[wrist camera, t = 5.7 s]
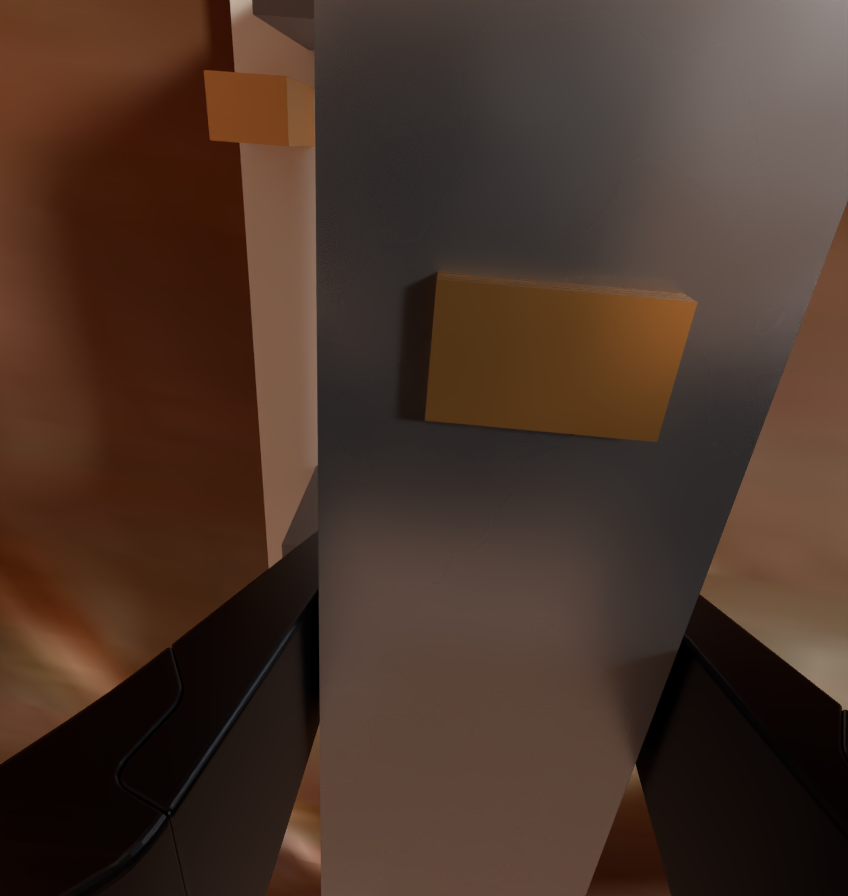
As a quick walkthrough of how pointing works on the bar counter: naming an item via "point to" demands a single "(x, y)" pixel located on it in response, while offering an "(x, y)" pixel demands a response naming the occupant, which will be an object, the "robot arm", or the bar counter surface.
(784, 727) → the robot arm
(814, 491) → the bar counter surface
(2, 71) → the bar counter surface
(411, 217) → the grey square bar
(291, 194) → the collar stand
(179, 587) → the bar counter surface
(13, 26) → the bar counter surface
